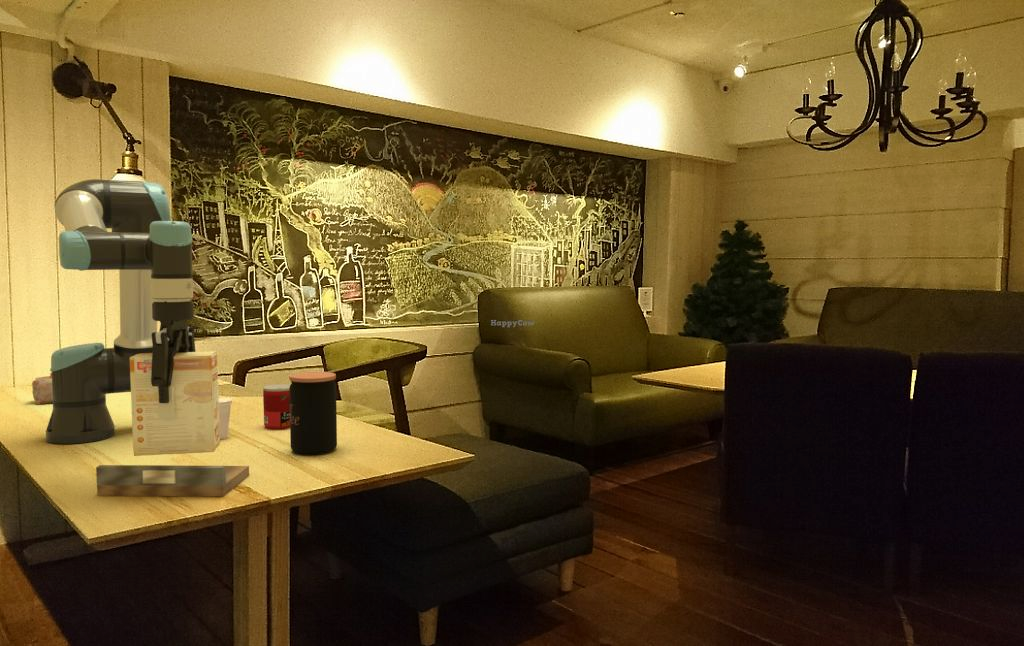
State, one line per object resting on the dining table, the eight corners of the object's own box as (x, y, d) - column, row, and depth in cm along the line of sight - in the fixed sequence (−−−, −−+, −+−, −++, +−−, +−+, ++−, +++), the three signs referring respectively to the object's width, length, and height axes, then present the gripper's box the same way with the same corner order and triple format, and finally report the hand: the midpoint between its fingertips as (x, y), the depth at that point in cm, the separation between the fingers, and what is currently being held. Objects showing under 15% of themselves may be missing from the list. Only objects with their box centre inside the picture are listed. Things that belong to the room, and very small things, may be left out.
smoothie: (226, 433, 195) (225, 380, 193) (237, 438, 190) (236, 383, 189) (201, 437, 190) (200, 382, 189) (212, 442, 185) (210, 386, 184)
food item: (33, 406, 230) (32, 374, 230) (32, 402, 237) (31, 371, 236) (84, 401, 238) (83, 370, 237) (82, 397, 245) (80, 367, 244)
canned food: (285, 430, 198) (285, 389, 198) (258, 429, 200) (257, 388, 199) (299, 424, 206) (299, 384, 205) (273, 423, 207) (272, 383, 207)
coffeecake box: (220, 444, 156) (218, 350, 154) (214, 453, 149) (211, 354, 147) (142, 447, 152) (138, 352, 151) (132, 456, 146) (128, 356, 144)
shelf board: (96, 496, 143) (94, 467, 142) (134, 474, 157) (133, 448, 157) (222, 496, 143) (221, 468, 142) (249, 475, 157) (248, 449, 157)
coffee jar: (295, 445, 183) (294, 371, 181) (340, 444, 184) (339, 371, 182) (286, 456, 172) (284, 378, 171) (333, 455, 173) (332, 378, 172)
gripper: (167, 303, 138) (172, 426, 140) (213, 297, 158) (216, 404, 160) (126, 303, 138) (131, 425, 140) (177, 297, 158) (180, 404, 160)
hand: (176, 414), depth 150 cm, fingers closed on coffeecake box, 8 cm apart
